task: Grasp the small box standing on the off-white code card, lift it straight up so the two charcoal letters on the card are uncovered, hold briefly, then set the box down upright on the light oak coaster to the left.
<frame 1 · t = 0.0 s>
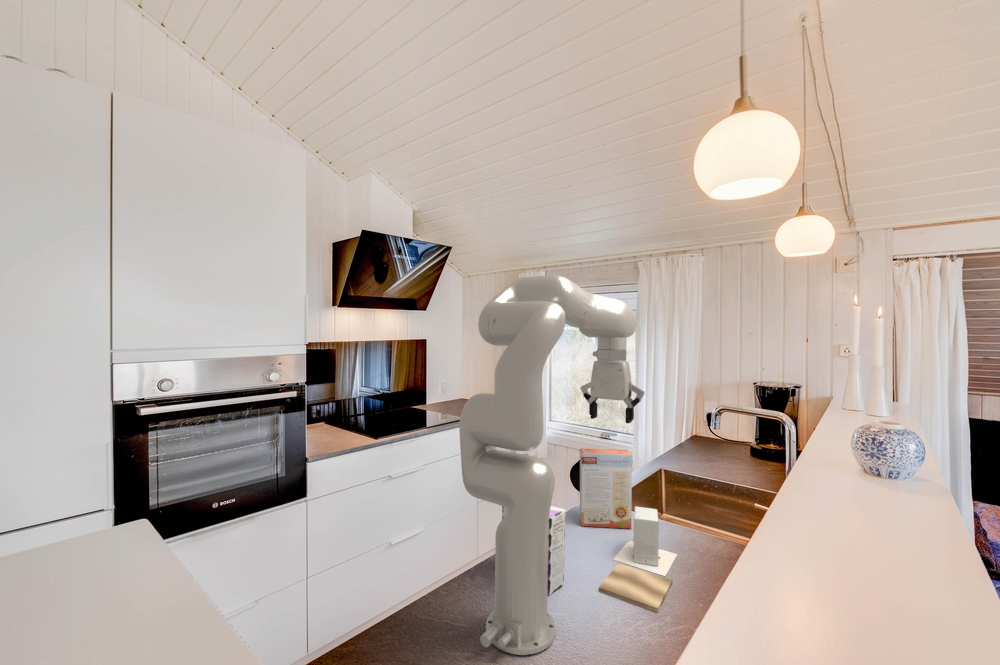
hand: (610, 420, 115), 31 cm above the countertop, tool pointing down, fingers open, 9 cm apart
coaster: (636, 587, 92), on the countertop
cracker box: (604, 524, 123), on the countertop
small box: (645, 557, 105), resting on code card
candy box: (531, 578, 95), on the countertop
code card: (645, 557, 105), on the countertop
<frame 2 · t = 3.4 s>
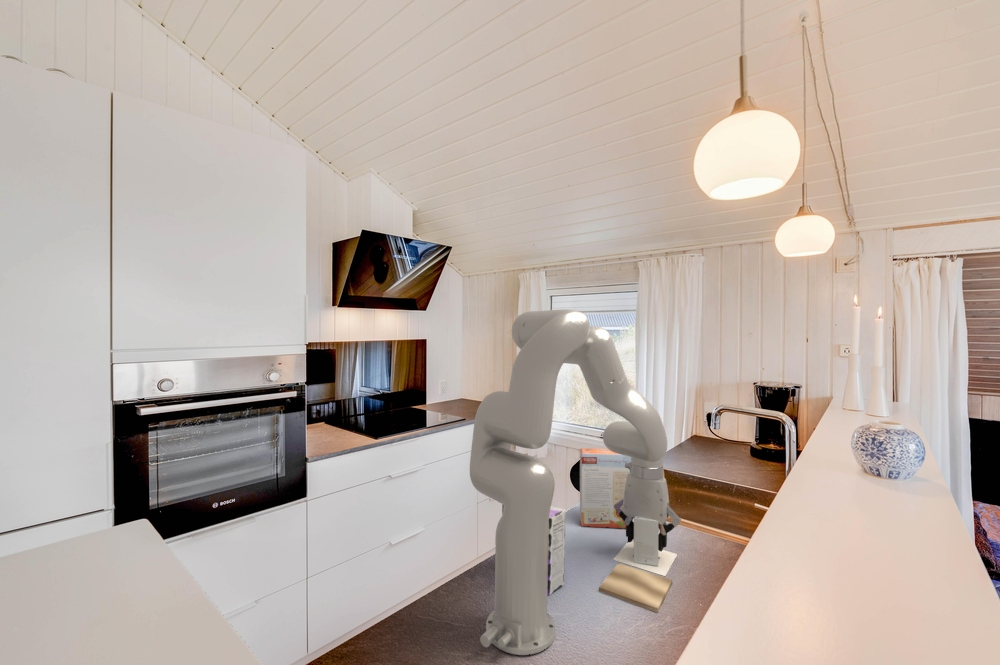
hand: (645, 543, 105), 3 cm above the countertop, tool pointing down, fingers closed on small box, 6 cm apart
small box: (645, 557, 105), resting on code card, touching gripper
everything else where it was.
when the fingers open (6 cm above the countertop, at t = 9.4 s): small box drops 2 cm, resting on coaster.
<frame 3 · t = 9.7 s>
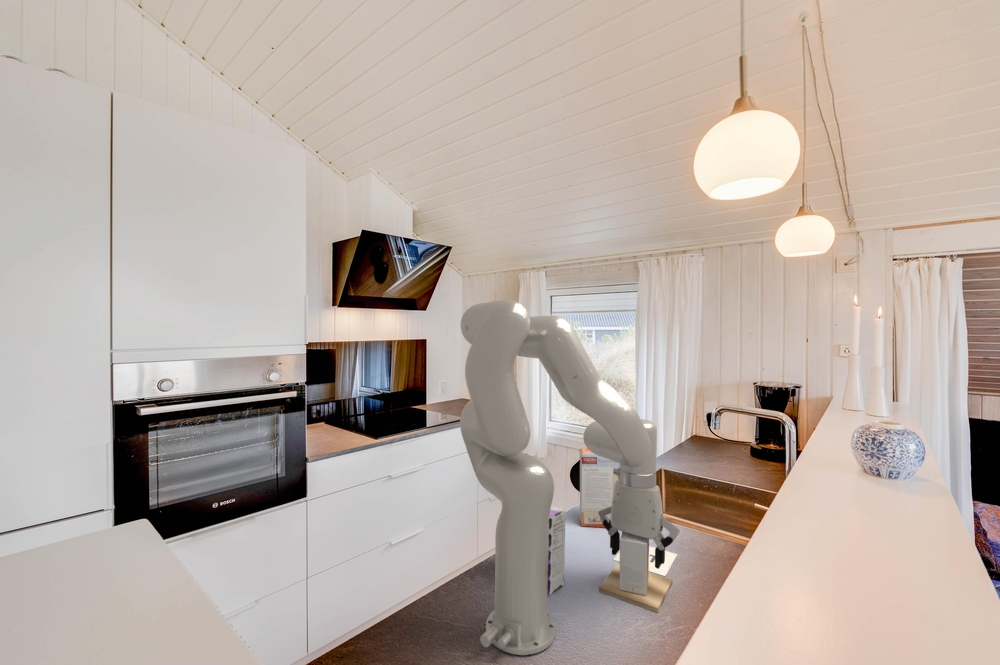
hand: (636, 558, 92), 6 cm above the countertop, tool pointing down, fingers open, 8 cm apart
small box: (634, 584, 92), point 1 cm above the countertop, touching coaster
everything else where it was.
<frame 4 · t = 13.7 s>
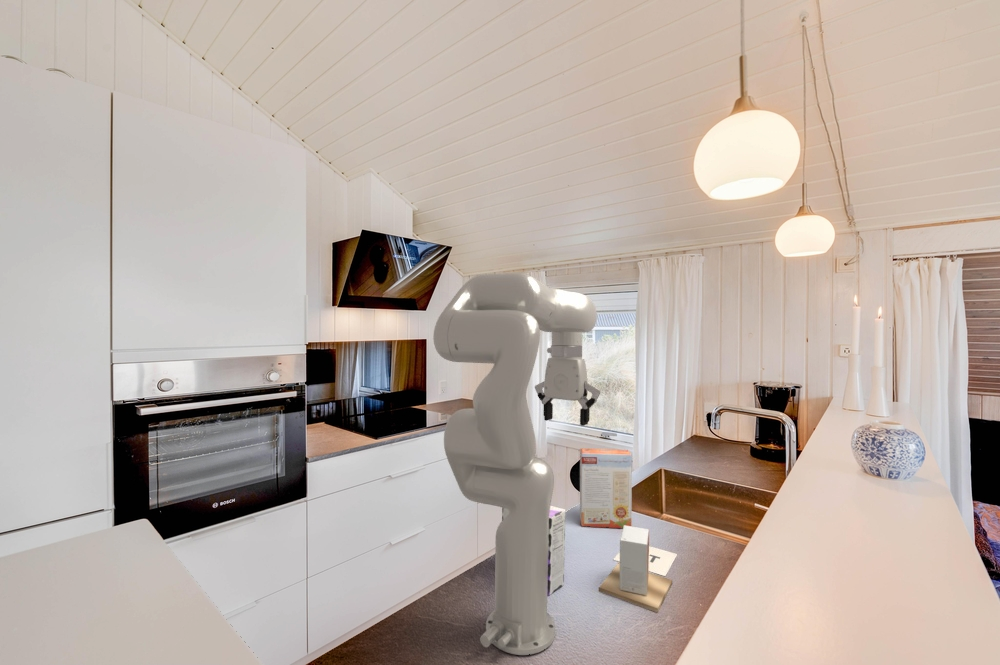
hand: (565, 422, 106), 32 cm above the countertop, tool pointing down, fingers open, 9 cm apart
nothing on the countertop moved.
at the end: small box inside the target area on the coaster (0.4 cm from its centre), point 0.6 cm above the coaster's base; small box tilted 0°; small box moved 14.2 cm from its start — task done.
